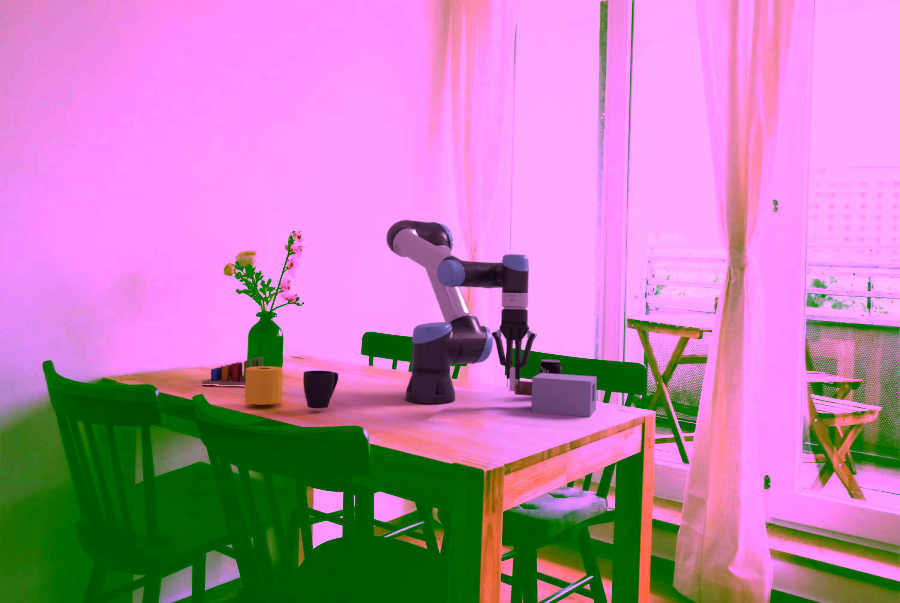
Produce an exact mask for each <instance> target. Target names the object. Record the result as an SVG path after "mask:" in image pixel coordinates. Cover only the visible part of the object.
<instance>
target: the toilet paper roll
mask: <svg viewBox="0 0 900 603" xmlns="http://www.w3.org/2000/svg"><path fill="white" fill-rule="evenodd" d="M282 386H283V367H279V366H271V365H270V366H268V365H266V366H264V365H263V366H259V367H248V368H246V383H245V387H244V389H245V390H244V392H245V393H244V396H245V397H244V403H245V404H249V405H260V406H261V405H263V406H264V405H276V404H280V403H281V402H282V401H283V400H282V399H283V398H282V396H283V393H282V392H283V387H282Z"/></svg>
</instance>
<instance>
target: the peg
mask: <svg viewBox="0 0 900 603" xmlns="http://www.w3.org/2000/svg"><path fill="white" fill-rule="evenodd" d="M513 392H514V395H516V396H529V397H532V381H528V380H524V381H523V380H517V381H516V382H515V386H514V391H513Z"/></svg>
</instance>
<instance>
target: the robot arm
mask: <svg viewBox="0 0 900 603" xmlns="http://www.w3.org/2000/svg"><path fill="white" fill-rule="evenodd" d="M453 240H454V238H453V234H452V232H451V230H450V228H449V227H448V226H446V224H443V223H439V222H435V221H431V222H429V221H420V220H419V221H418V220H410V219H404V220H400V221H396V222H394V224H392V225H391V226H390V227H389V229H388V230H387V232H386V244H387V247H388V248H389V249H390V251H391V252H393V253H394V254H396V255H397V256H399V257H401V258H408V259H410V260H411V261H413V262H415V263H417V265H420V266H421V267H423V268H425V271H426V274H427V276H428V278H429V281H430V285H431V288H432V290H433V291H434V292H433V293H434V295H435V299H436V302H437V303H438V306H439V309H440V312H441V315H442V317H443V319H444V321H438V322H437V321H436V322H426V323H421V324H418V325H416V326H415V327H414V328H413V329H412V330H413V331H412V339H411V342H412V352H411V354H412V355H411V357H412V358H411V374H410V378H409V381H408V384H407V386H406V390H405V397H404V398H405V400H406V401H408V402H412V403H417V404H418V403H419V404H448V403H453V402H455V401H456V391H455V388H454V384H453V380H452V377H451V365H462V364H463V365H466V364H471V365H474V364H479V363H483V362H485V361H486V360H487V359H488V358H489V357H490V355H491V353H492V350H493V346H494V340H495V346H496V350H497V354H498V359H499V360H498V361H499V364H500V366H503V367H505V369H506V371H505V372H506V373H505V374H506V376H505V378H506V379H507V380H509V390H508V391H509V392H514V386H515V382H516V381H518V380H520V379H521V375H522V374H521V370H522V369H521V368H522V367H525V366H527V365H528V363H529V362H528V361H529V359H530V355H531V354H530V353H531V351H532V346H533V343H534V341H535V339H536V337H537V336H538V335H537V333H536V332H534V331H531V330H530V327H529V324H528V323H529V322H528V320H529V317H528V315H529V314H528V312H529V310H528V309H527V308H528V307H529V271H530V268H529V257H528V256H527V255H525V254H516V253H515V254H504V255H503V256H502V258H501V259H502V261H501V262H486V261H485V262H484V261H467V260H462V259H460V258H458V257H456V256H455V255H453V254H452V250H453V247H454V243H453ZM461 288H482V289H500V288H501V307H502V310H501V318H500V319H501V321H500V322H501V324H500V326H499V328H498V329H497V330H496V331H493V332H492V331H491V330H490V328H489V327H487V326H485V325H481V324H480V321H479V318H478V317H477V316H476V315H474V314H472V313H471V312H470V308H469V306H468V304H467V302H466V298H465V296H464V293H463V291H462V289H461ZM502 335H503V338H505V344H506V351H505V349H504V345H503V340H502ZM525 337H527V340H526V344H525V348H524V352H523V355H522V343H523V339H524V338H525ZM513 345H514V346H513ZM513 347H514V348H513ZM513 349H514V365H513ZM505 352H506V354H505ZM513 366H514V367H513Z"/></svg>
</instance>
